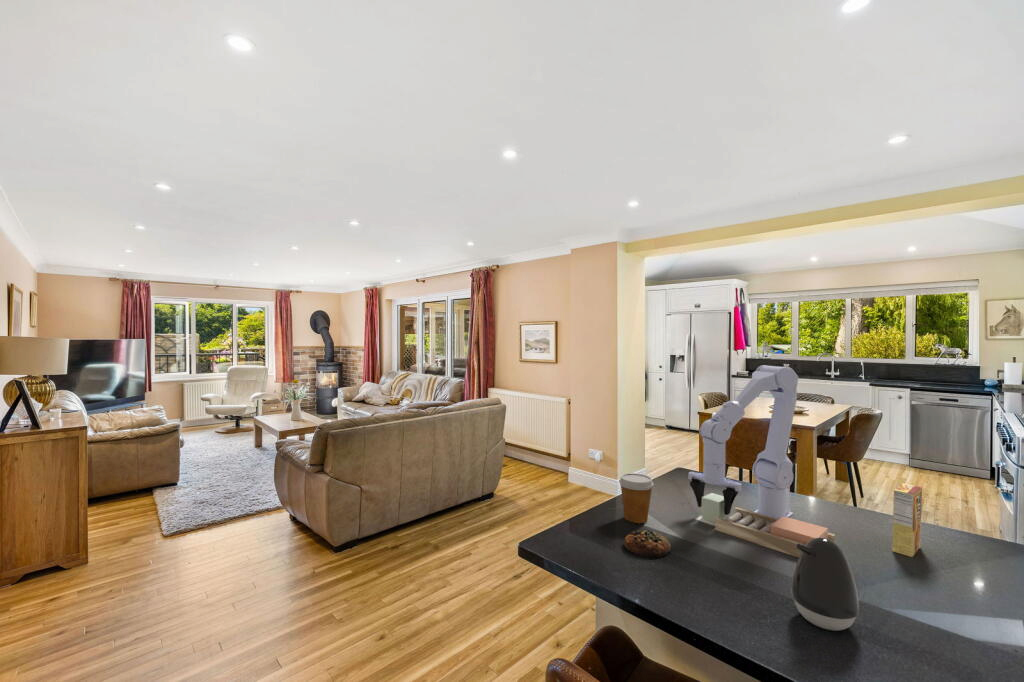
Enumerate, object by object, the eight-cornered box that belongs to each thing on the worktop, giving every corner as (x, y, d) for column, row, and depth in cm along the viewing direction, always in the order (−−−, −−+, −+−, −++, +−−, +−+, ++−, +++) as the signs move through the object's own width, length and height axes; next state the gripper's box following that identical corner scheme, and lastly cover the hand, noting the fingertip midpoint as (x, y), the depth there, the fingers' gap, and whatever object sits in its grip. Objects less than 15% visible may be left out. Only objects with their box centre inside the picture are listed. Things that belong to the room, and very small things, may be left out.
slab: (783, 525, 120) (783, 516, 120) (827, 538, 112) (828, 528, 112) (770, 535, 114) (770, 525, 114) (816, 549, 106) (816, 538, 106)
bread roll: (636, 560, 105) (636, 537, 106) (616, 545, 116) (615, 525, 116) (679, 558, 107) (679, 536, 108) (655, 544, 118) (655, 524, 119)
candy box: (899, 541, 116) (900, 482, 116) (921, 547, 113) (922, 486, 113) (891, 551, 111) (892, 489, 111) (914, 558, 108) (915, 494, 107)
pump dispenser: (777, 606, 87) (778, 527, 87) (827, 604, 88) (828, 526, 88) (817, 641, 77) (818, 552, 77) (874, 638, 78) (875, 550, 78)
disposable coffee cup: (653, 515, 132) (654, 474, 132) (652, 528, 123) (653, 484, 123) (620, 511, 135) (620, 471, 135) (616, 523, 126) (617, 480, 126)
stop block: (711, 513, 134) (711, 492, 134) (728, 518, 130) (728, 497, 130) (701, 518, 130) (701, 497, 130) (718, 523, 126) (719, 502, 126)
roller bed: (711, 510, 136) (712, 500, 136) (834, 547, 113) (835, 534, 113) (690, 522, 127) (690, 510, 127) (818, 564, 104) (819, 550, 104)
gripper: (683, 459, 132) (682, 505, 132) (734, 470, 121) (733, 521, 121) (694, 455, 137) (694, 500, 137) (745, 466, 126) (744, 514, 126)
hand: (713, 509), depth 129 cm, fingers open, 7 cm apart
